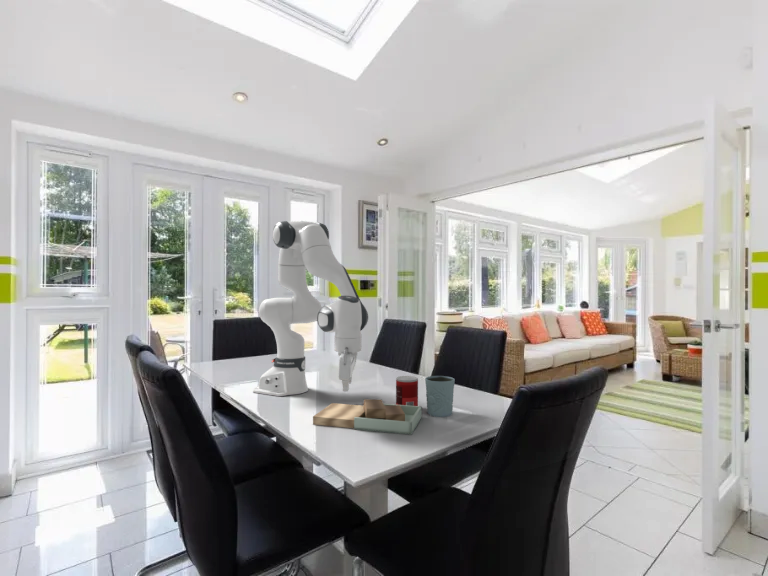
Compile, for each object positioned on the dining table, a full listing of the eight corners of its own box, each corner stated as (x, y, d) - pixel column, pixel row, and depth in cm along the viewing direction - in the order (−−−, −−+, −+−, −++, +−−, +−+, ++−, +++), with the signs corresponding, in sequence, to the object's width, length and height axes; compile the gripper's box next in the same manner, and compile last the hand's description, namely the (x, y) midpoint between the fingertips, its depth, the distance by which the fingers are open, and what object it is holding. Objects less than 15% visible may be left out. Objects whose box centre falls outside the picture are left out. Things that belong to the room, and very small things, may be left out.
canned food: (421, 407, 151) (421, 377, 151) (410, 413, 145) (410, 381, 145) (403, 404, 156) (403, 374, 156) (391, 409, 149) (391, 378, 149)
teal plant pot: (426, 417, 140) (426, 381, 140) (423, 408, 150) (423, 375, 150) (456, 417, 140) (456, 381, 140) (452, 408, 150) (452, 375, 150)
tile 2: (386, 424, 131) (386, 414, 131) (381, 414, 141) (381, 405, 141) (404, 423, 132) (404, 414, 132) (399, 414, 142) (399, 405, 142)
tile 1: (366, 418, 132) (366, 408, 132) (363, 408, 142) (363, 399, 142) (385, 418, 132) (385, 408, 132) (381, 408, 142) (381, 399, 142)
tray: (354, 429, 128) (354, 417, 128) (370, 412, 145) (370, 402, 145) (411, 434, 124) (411, 422, 124) (421, 416, 141) (421, 406, 141)
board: (313, 424, 133) (313, 416, 133) (332, 410, 148) (332, 403, 148) (355, 428, 129) (355, 420, 129) (370, 413, 144) (370, 406, 144)
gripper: (354, 351, 128) (354, 396, 129) (359, 340, 148) (359, 379, 149) (334, 351, 128) (333, 395, 129) (341, 340, 149) (341, 379, 149)
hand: (347, 386), depth 139 cm, fingers open, 8 cm apart
